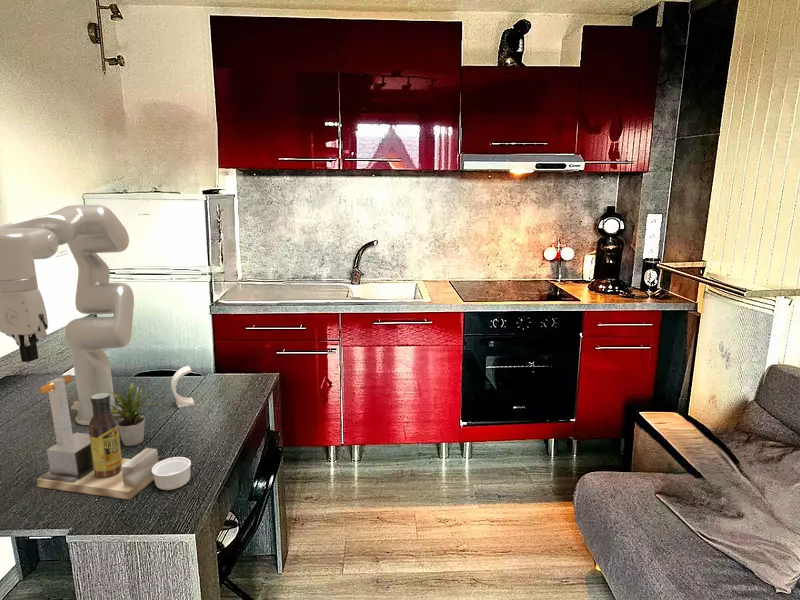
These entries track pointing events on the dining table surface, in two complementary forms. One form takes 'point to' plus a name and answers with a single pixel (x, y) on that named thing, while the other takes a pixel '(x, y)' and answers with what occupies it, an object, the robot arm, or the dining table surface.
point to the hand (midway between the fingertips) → (30, 360)
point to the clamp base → (109, 478)
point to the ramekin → (171, 473)
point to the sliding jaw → (66, 435)
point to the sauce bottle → (104, 438)
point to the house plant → (129, 418)
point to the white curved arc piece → (180, 400)
